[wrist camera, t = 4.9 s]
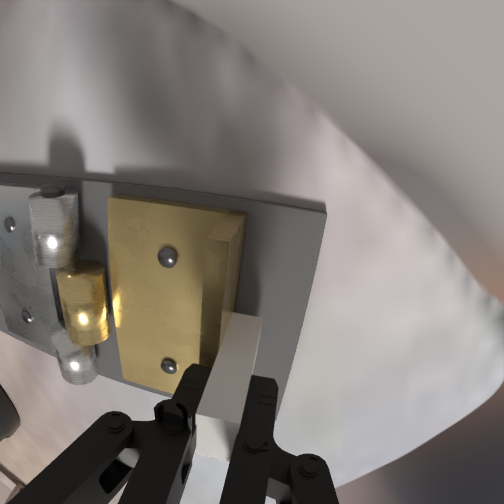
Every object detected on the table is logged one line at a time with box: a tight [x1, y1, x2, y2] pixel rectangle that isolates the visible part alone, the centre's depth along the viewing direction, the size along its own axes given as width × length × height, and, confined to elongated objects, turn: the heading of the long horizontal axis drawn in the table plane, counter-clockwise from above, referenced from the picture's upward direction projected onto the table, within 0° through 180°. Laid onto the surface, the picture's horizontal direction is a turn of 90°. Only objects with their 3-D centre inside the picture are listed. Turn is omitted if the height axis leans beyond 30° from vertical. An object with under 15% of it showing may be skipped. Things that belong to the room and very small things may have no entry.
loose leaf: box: [56, 194, 248, 394], centre depth 15 cm, size 10×12×4 cm
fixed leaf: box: [0, 182, 99, 385], centre depth 17 cm, size 10×13×3 cm
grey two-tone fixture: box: [0, 173, 327, 420], centre depth 18 cm, size 25×14×1 cm, turn 83°
